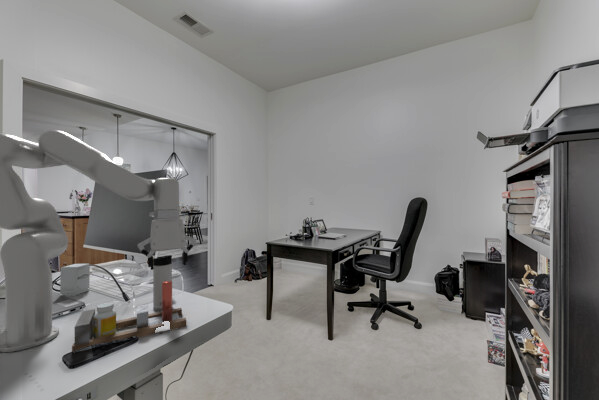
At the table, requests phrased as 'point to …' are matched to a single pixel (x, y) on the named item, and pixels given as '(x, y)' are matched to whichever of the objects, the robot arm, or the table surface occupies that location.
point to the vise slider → (166, 309)
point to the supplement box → (74, 279)
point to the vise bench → (86, 329)
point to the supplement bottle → (104, 320)
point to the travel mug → (160, 278)
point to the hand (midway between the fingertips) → (168, 266)
